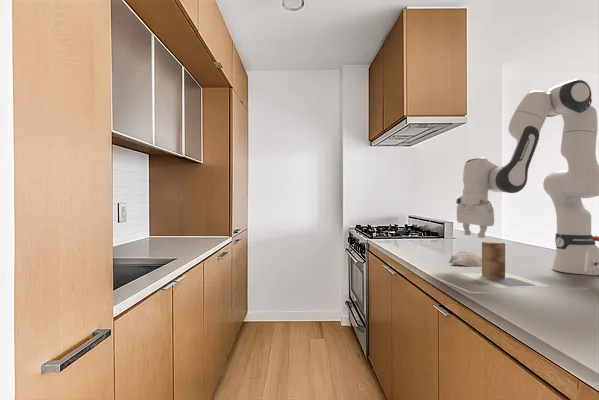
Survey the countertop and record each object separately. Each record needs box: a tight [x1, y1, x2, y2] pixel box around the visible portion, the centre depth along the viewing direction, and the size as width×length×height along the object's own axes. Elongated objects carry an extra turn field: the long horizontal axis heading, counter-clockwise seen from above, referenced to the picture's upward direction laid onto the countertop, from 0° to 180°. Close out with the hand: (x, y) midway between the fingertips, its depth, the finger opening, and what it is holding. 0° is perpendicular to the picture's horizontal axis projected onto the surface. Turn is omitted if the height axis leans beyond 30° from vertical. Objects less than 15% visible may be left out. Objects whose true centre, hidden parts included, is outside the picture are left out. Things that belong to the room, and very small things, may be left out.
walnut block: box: [481, 241, 506, 278], centre depth 146 cm, size 6×4×12 cm
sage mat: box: [458, 272, 550, 289], centre depth 142 cm, size 18×24×1 cm
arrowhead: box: [450, 250, 482, 268], centre depth 183 cm, size 14×5×30 cm
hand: (474, 236), depth 158 cm, fingers open, 8 cm apart
